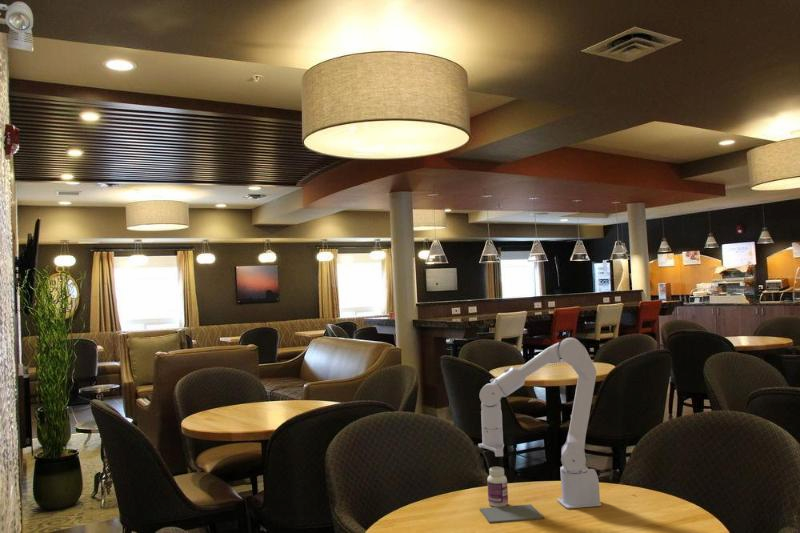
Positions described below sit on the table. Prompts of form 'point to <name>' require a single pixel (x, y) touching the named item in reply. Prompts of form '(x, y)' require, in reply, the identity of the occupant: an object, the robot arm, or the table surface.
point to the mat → (511, 513)
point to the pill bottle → (497, 487)
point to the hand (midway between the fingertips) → (494, 477)
